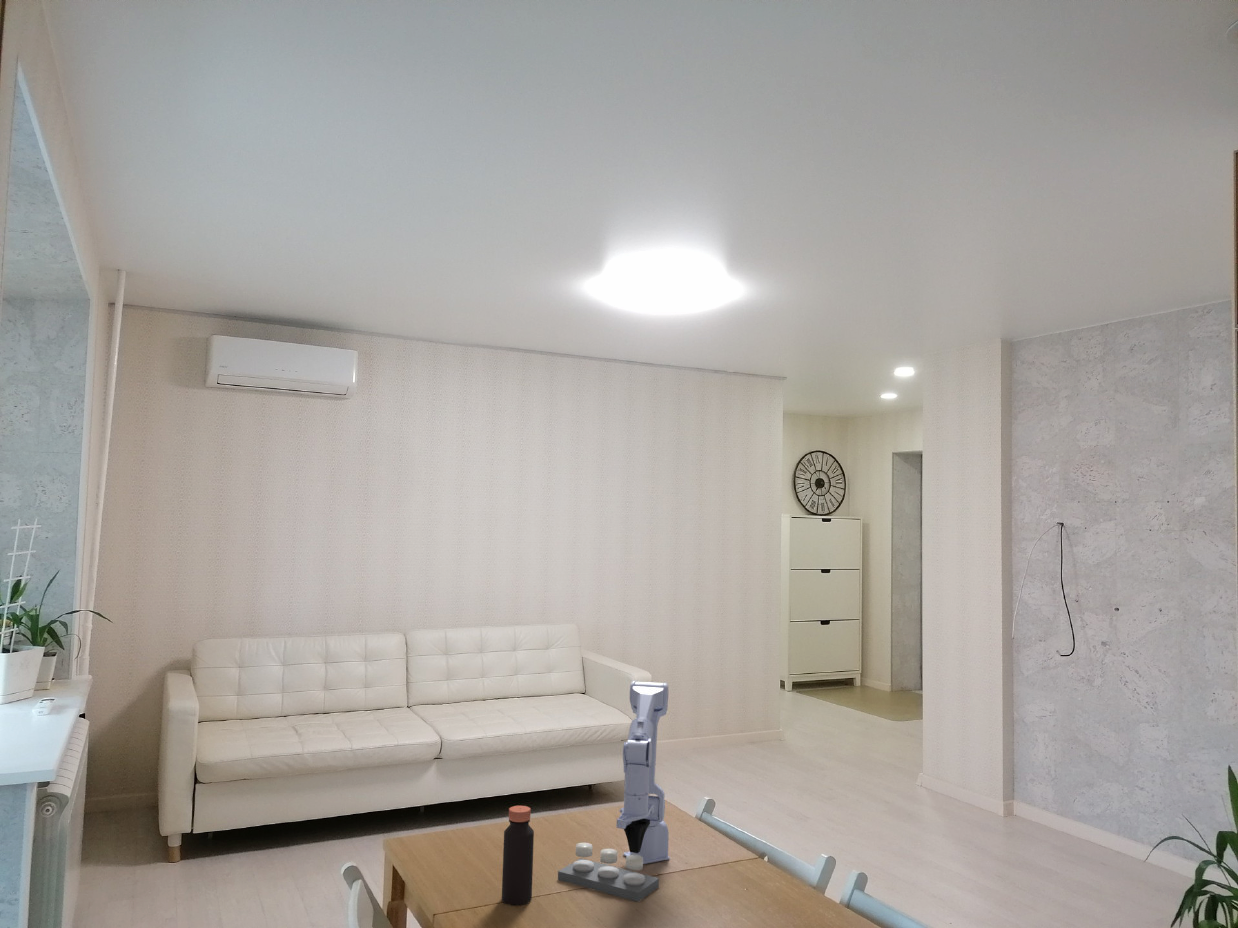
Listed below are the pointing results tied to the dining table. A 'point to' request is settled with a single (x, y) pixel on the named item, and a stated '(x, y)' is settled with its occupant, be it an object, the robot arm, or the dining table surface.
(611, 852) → the knob
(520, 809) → the bottle
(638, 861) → the knob
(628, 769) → the robot arm
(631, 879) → the knob panel
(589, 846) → the knob
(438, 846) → the dining table surface
